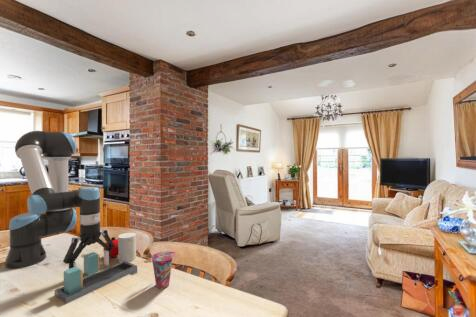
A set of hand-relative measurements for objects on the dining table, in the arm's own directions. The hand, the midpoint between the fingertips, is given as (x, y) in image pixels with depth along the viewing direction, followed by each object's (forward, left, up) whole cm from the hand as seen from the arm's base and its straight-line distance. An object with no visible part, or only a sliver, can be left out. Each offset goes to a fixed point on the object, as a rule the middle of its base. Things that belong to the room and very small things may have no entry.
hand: (91, 270), depth 105 cm
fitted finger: (+11, -12, -1) cm, 16 cm away
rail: (+11, -2, -2) cm, 11 cm away
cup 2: (+33, +11, -2) cm, 35 cm away
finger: (0, 0, -2) cm, 2 cm away
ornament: (-9, +16, -2) cm, 18 cm away
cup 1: (-1, +18, -2) cm, 18 cm away
